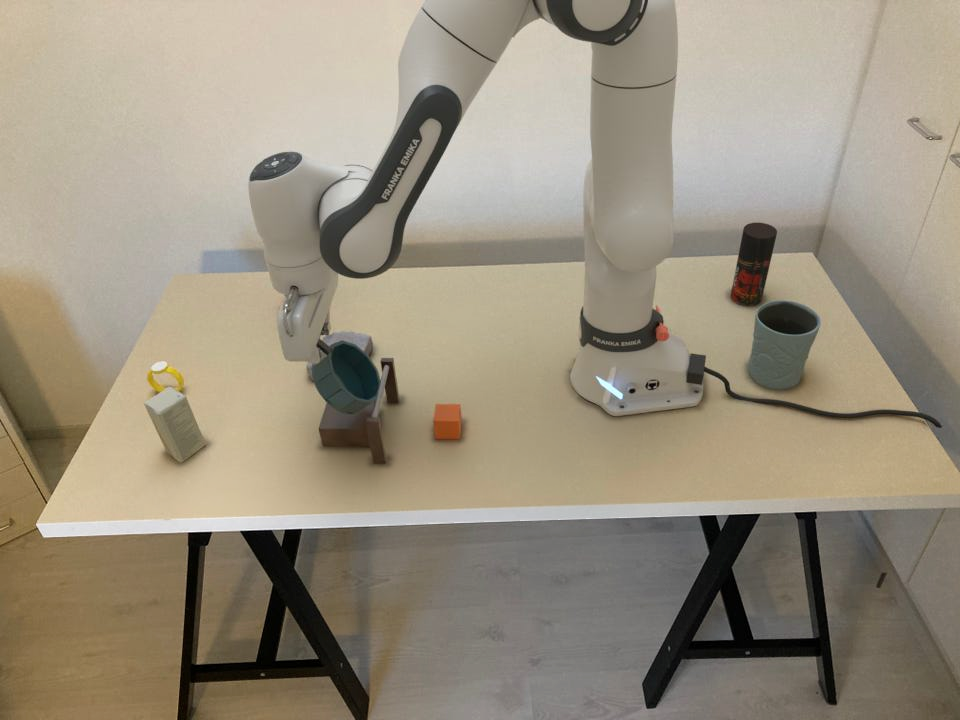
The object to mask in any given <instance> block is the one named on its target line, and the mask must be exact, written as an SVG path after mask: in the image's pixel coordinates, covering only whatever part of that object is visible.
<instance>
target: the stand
mask: <svg viewBox="0 0 960 720" xmlns="http://www.w3.org/2000/svg"><path fill="white" fill-rule="evenodd" d="M385 365H388V366H389V371H388V375H387V380H386V384H385V388H384V392H385V397H386V403H389V404H390V403H391V404H392V403H394V404H395V403H396V404H398V403H399V402H400V393H399V387H398V381H397V374H396V367H395V359H394V357H381V358H380V367H381V372H383V368H384V366H385ZM375 401H376V400H375ZM375 401H374V402H372V403H371V404H369V405H368V406H366V407H365V408H363V409H362V410H360V411H358V412H357V413H354V414H345V413H342V412H339V411H337V410H336V409H334V408H333V407H331V406H330V405H329V404H328V403H327V402H326V403H325V406H324V411H323V414H322V416H321V420H320V423H319V426H318V433H319V436H320V440H321V445H322V447H351V448H352V447H354V448H355V447H357V448H359V447H360V448H362V447H364V448H370V454H371V458H372V463H373V464H386V463H387V454H386V448H385V443H384V441H385V440H384V436H383V430H382V424H381V419H380V412H379V413H378V417H372V413H373V409H374V405H375Z"/></svg>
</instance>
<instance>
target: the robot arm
mask: <svg viewBox="0 0 960 720" xmlns="http://www.w3.org/2000/svg"><path fill="white" fill-rule="evenodd" d="M677 16H678V15H677V6H676V1H675V0H424V2H423V3H422V5H421V7H420V8H419V10H418V12H417V14H416V15H415V17H414V19H413V21H412V23H411V25H410V27H409V29H408V31H407V34H406V37H405V39H404V41H403V45H402V48H401V50H400V53H399V56H398V60H397V75H398V106H397V113H396V119H395V122H394V123H395V124H394V127H393V131H392V133H391V135H390V137H389V140H388V142H387V144H386V146H385V148H384V149H383V151H382V153H381V154H380V157H379V158H378V160H377V162H376V164H375V166H374V168H373V170H372V168H371V169H370V168H369V167H366V166H364V165H360V164H347V165H346V164H345V165H340V164H339V165H337V164H329V163H325V162H321V161H317V160H314V159H311V158H309V157H307V156H306V155H304V154H303V153H300V152H299V151H283V152H278V153H274V154H272V155H269V156H268V157H266V158H264V159H262V161H260V162H259V163H257V164H256V165H255V166H254V168H253V169H252V170H251V172H250V174H249V178H248V184H247V189H248V198H249V203H250V208H251V211H252V217H253V221H254V225H255V228H256V232H257V233H258V235H259V237H260V238H261V239H262V242H263V258H264V260H265V264H266V267H267V268H266V269H267V271H268V275H269V279H270V283H271V285H272V287H273V288H272V289H274V290H275V291H276V292H277V293H279V294H282V295H284V299H283V301H282V304H281V306H280V307H279V311H278V313H277V319H276V324H277V325H276V326H277V332H278V336H279V343H280V346H281V351H282V355H283V358H284V359H285V360H286V361H288V362H293V363H294V362H295V363H297V362H298V363H299V362H300V363H302V362H307V363H308V362H309V363H311V364H315V363H319V362H320V359H321V356H322V355H321V351H320V348H317V347H316V344H317V342H318V339H319V336H320V333H321V330H322V328H323V331H322V334H321V336H327V335H329V334H331V333H330V332H331V330H332V325H331V305H332V303H333V300H334V297H335V294H336V291H337V289H338V285H339V275H340V276H343V277H346V278H349V279H354V280H355V279H357V280H364V279H370V278H374V277H377V276H380V275H382V274H384V273H385V272H387V271H389V270H390V269H391V268H392V267H393V266H394V265H395V263H396V262H397V260H398V259H399V257H400V254H401V252H402V247H403V241H404V233H405V228H406V224H407V222H408V219H409V217H410V215H411V214H412V211H413V209H414V207H415V206H416V204H417V202H418V201H419V199H420V197H421V195H422V193H423V192H424V190H425V187H426V186H427V184H428V182H429V181H430V179H431V177H432V175H433V174H434V172H435V170H436V168H437V166H438V165H439V163H440V161H441V159H442V157H443V156H444V154H445V152H446V150H447V148H448V147H449V144H450V142H451V140H452V138H453V136H454V134H455V132H456V131H457V129H458V127H459V126H460V124H461V122H462V120H463V118H464V116H465V115H466V113H467V111H468V109H469V107H470V106H471V104H472V102H473V101H474V100H475V98H476V96H477V95H478V93H479V92H480V90H481V88H482V87H483V86H484V84H485V82H486V81H487V79H488V78H489V76H490V75H491V74H492V71H493V70H494V69H495V67H496V66H497V64H498V62H499V61H500V59H501V58H502V56H503V54H504V53H505V51H506V49H507V48H508V46H509V44H510V42H511V41H512V39H513V38H515V37H516V35H517V34H518V33H519V32H520V31H521V30H522V29H524V28H525V27H526V26H527V25H529V24H530V23H533V22H534V21H535V22H536V21H538V20H540V19H542V20H544V21H545V22H546V23H548V24H550V25H552V26H554V27H556V28H557V29H558V30H559V31H560V32H561V33H562V34H564V35H566V36H567V37H569V38H572V39H574V40H578V41H581V42H587V43H590V47H591V52H592V53H591V67H590V104H589V105H590V107H589V113H590V114H589V139H590V149H591V151H590V152H591V159H590V161H589V162H588V164H587V166H586V168H585V174H584V178H583V197H582V198H583V205H582V207H583V211H582V212H583V214H582V215H583V251H584V252H583V254H584V281H583V283H584V288H583V305H582V307H581V309H580V315H579V319H578V340H579V345H578V351H577V355H576V358H575V362H574V365H573V367H572V369H571V371H570V377H569V378H570V384H571V385H572V388H573V389H574V391H575V392H576V393H577V394H578V395H580V397H582V398H584V399H585V400H587V401H588V402H590V403H593V404H596V405H597V406H599V407H601V409H602V410H604V411H605V412H606V413H607V414H608V415H610V416H613V417H622V416H628V415H630V416H631V415H637V414H645V413H653V412H660V411H668V410H676V409H685V408H692V407H696V406H698V405H699V404H700V402H701V400H702V398H703V395H704V376H705V373H706V374H708V375H710V376H712V377H715V378H717V379H718V380H720V381H721V382H722V383H723V385H724V390H725V393H726V394H727V395H728V396H730V397H731V398H733V399H735V400H739V401H746V402H751V403H757V404H763V405H776V406H781V407H787V408H791V409H795V410H799V411H803V412H806V413H809V414H813V415H817V416H822V417H826V418H834V419H859V418H865V417H871V416H883V415H884V416H885V415H886V416H887V415H889V416H901V417H913V418H919V419H923V420H926V421H927V422H930V423H931V424H932V425H933V426H934V427H935V428H939V429H941V428H943V426H942V424H941V423H940V422H939V420H938V419H936V418H935V417H933V416H931V415H928V414H927V413H922V412H918V411H912V410H901V409H900V410H899V409H874V410H866V411H861V412H849V413H848V412H847V413H846V412H845V413H843V412H842V413H841V412H833V411H827V410H821V409H817V408H813V407H810V406H806V405H803V404H798V403H794V402H790V401H786V400H779V399H770V398H754V397H747V396H743V395H740V394H738V393H735V392H734V391H732V389H731V385H730V381H729V380H728V379H727V378H726V376H725V375H723V374H722V373H720V372H719V371H715V370H713V369H711V368H709V367H707V366H706V358H707V356H706V355H705V354H698V353H690V352H689V348H688V347H687V345H686V343H685V341H684V340H683V339H682V337H680V335H678V334H676V333H674V332H673V331H671V330H669V329H668V326H666V325H664V324H665V323H664V322H665V321H664V316H663V314H661V311H660V308H659V306H658V305H657V304H656V305H655V309H654V300H655V291H656V285H657V284H656V283H657V266H659V265H660V264H662V263H663V262H664V261H665V259H667V258H668V256H669V255H670V253H671V251H672V249H673V247H674V241H675V229H674V228H675V227H674V226H675V225H674V160H673V159H674V158H673V121H674V120H673V119H674V109H675V107H674V106H675V97H676V87H677V85H676V84H677V77H678V73H677V72H678V61H679V60H678V59H679V37H678V36H679V31H678V29H679V28H678V17H677ZM285 296H286V297H285ZM887 573H888V572H881V574H880V575H879V578H878V580H877V582H876V585H875V588H876V589H881V587H882V586H883V583H884V581H885V579H886V576H887Z"/></svg>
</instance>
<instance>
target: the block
mask: <svg viewBox="0 0 960 720" xmlns="http://www.w3.org/2000/svg"><path fill="white" fill-rule="evenodd" d="M461 407H462V406H461V404H460V403H435V408H434V414H433V421H432V422H433V429H434V430H433V431H434V438H435V440H460V439H461V434H462V433H461V432H462V423H463V420H462V408H461Z"/></svg>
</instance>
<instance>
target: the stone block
mask: <svg viewBox="0 0 960 720" xmlns="http://www.w3.org/2000/svg"><path fill="white" fill-rule="evenodd" d="M321 340H322V341H323V342H324V343H326V344H327V345H328V346H330V345H332V344H334V343H336V342H338V341H341V340H343V341H346V342H350V343H353V344H355V345H357V346H358V347H359V348H360V349H361V350H363V351H364V352H365V353H366V354H367V355H368V356H369V357H370V355H371V352H372V350H373V348H374V342H373V338H372V336H371V334H370V335H369V334H366V333H361V332H354V331H347V330H346V331H345V330H341V331H333V332H332V333H329V335H324V336H323V338H322V339H321ZM317 348H318V347H317ZM320 351H321V350H320ZM321 352H322V351H321ZM305 368H306V373H307V375H308V377H309V378H310V379H311V381H313V377H312V364H311V363H309V362H308V361H307V363H306V367H305Z"/></svg>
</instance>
